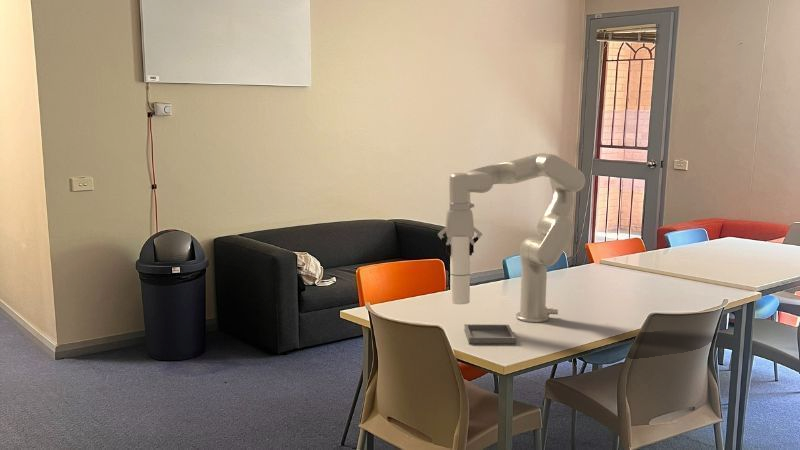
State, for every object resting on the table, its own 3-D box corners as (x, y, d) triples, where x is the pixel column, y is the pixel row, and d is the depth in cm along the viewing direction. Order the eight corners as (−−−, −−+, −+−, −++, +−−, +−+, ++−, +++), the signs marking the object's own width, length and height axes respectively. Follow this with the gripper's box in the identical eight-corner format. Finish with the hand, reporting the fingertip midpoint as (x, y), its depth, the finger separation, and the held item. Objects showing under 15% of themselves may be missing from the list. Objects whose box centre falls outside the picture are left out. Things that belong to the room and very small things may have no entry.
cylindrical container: (468, 299, 281) (468, 233, 277) (470, 304, 274) (470, 237, 270) (449, 299, 281) (449, 234, 277) (451, 304, 274) (451, 237, 270)
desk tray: (508, 331, 272) (508, 324, 271) (515, 344, 256) (515, 337, 256) (464, 330, 271) (464, 324, 271) (469, 344, 256) (469, 337, 255)
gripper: (482, 205, 275) (482, 252, 278) (435, 206, 275) (435, 253, 278) (485, 208, 268) (484, 256, 271) (436, 208, 268) (436, 257, 271)
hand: (459, 254), depth 274 cm, fingers closed on cylindrical container, 7 cm apart
